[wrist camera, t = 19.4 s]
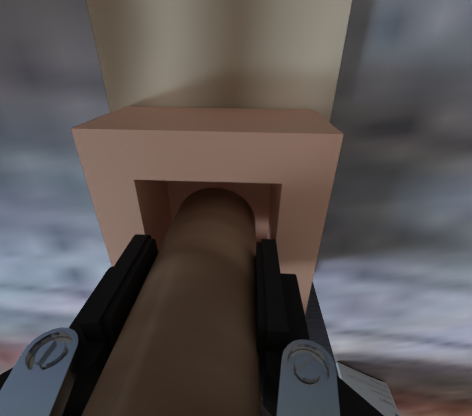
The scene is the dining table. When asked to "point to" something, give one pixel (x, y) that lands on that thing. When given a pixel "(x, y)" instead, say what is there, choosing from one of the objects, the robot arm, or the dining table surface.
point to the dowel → (191, 321)
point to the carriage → (213, 173)
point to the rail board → (220, 52)
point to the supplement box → (369, 390)
